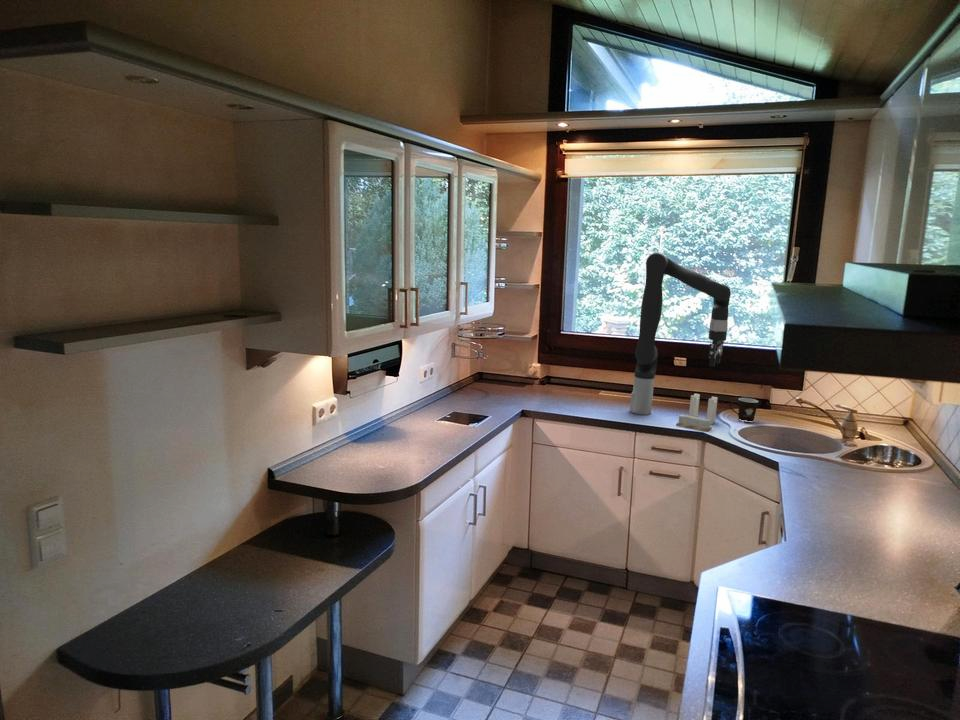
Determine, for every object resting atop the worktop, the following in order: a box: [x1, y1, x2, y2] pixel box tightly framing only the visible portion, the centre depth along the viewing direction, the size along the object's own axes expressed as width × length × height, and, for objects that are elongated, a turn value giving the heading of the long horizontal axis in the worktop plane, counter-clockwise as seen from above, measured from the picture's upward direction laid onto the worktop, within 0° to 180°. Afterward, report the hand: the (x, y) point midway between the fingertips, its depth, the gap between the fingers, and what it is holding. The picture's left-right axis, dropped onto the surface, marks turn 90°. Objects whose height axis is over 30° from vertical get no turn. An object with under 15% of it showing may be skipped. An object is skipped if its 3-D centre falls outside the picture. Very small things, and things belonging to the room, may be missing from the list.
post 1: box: [688, 393, 701, 417], centre depth 306 cm, size 2×6×12 cm, turn 147°
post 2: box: [705, 396, 719, 425], centre depth 302 cm, size 2×6×12 cm, turn 147°
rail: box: [678, 413, 712, 429], centre depth 294 cm, size 13×4×4 cm, turn 57°
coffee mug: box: [729, 397, 759, 422], centre depth 308 cm, size 12×9×10 cm
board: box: [675, 421, 712, 433], centre depth 294 cm, size 14×6×1 cm, turn 57°
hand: (714, 364), depth 299 cm, fingers open, 8 cm apart
